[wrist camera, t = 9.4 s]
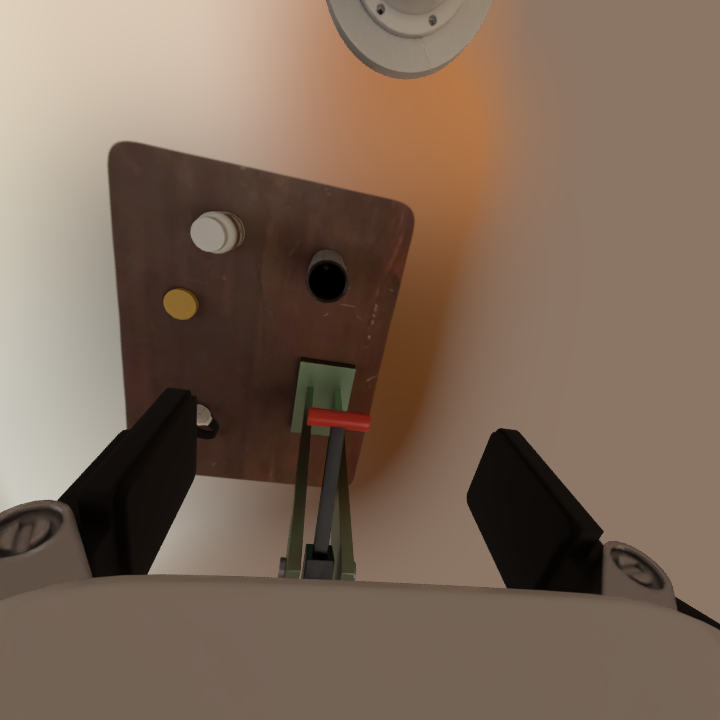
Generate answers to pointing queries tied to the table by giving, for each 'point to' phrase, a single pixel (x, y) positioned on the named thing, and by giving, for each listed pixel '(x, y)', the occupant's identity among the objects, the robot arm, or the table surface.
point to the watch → (206, 423)
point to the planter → (327, 277)
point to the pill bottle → (217, 232)
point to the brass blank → (181, 303)
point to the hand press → (320, 390)
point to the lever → (329, 487)
